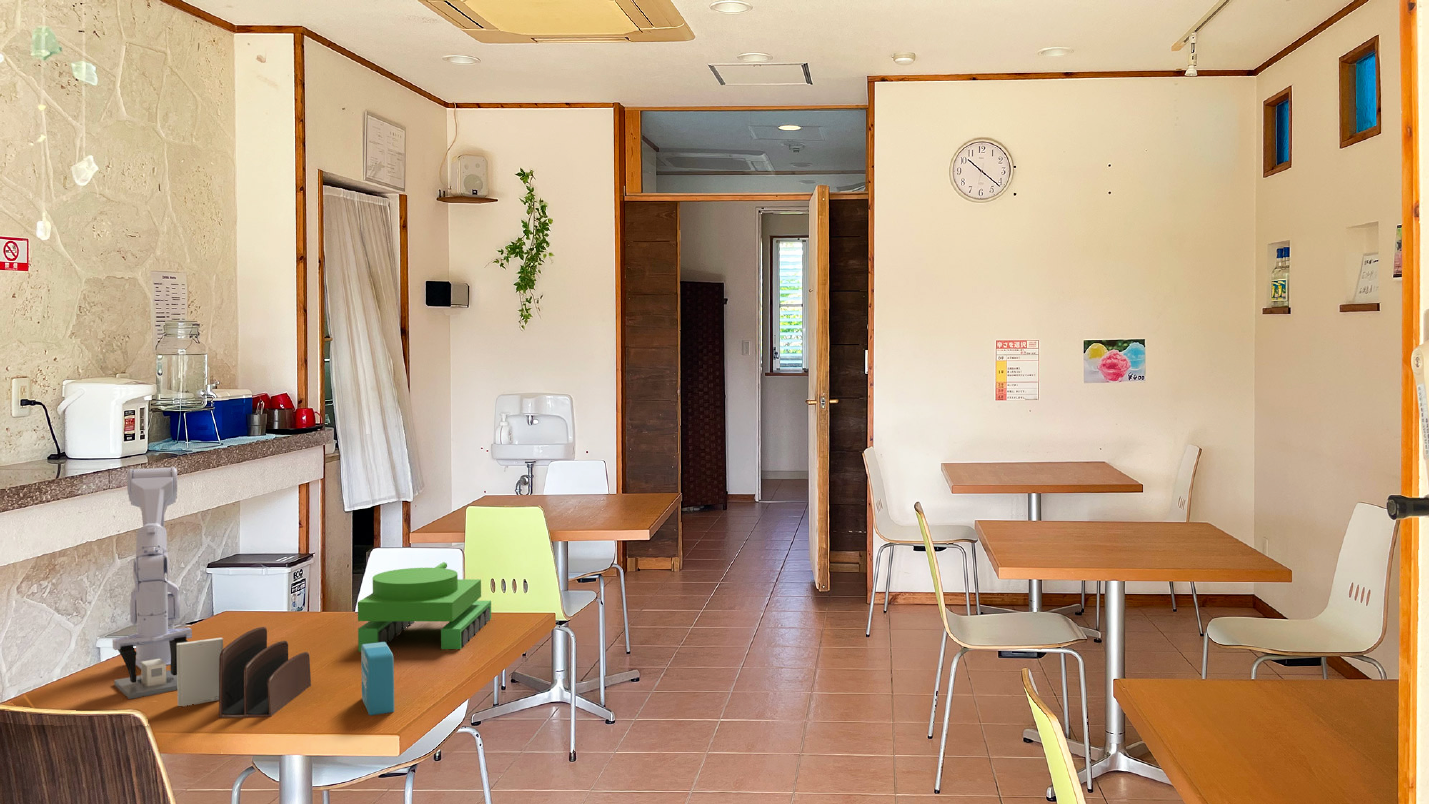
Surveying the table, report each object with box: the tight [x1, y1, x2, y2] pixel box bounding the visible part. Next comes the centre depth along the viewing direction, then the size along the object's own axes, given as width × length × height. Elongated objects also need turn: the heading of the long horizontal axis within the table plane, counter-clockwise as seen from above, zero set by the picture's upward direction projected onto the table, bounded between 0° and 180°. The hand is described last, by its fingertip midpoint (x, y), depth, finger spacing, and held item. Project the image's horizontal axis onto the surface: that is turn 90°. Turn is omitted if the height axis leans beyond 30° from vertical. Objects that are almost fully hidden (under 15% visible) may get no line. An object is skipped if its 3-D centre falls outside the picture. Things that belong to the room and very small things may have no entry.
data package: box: [360, 642, 395, 716], centre depth 204 cm, size 12×4×12 cm, turn 25°
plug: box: [140, 659, 167, 687], centre depth 222 cm, size 8×4×5 cm, turn 41°
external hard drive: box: [176, 637, 224, 707], centre depth 209 cm, size 2×8×12 cm, turn 123°
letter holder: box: [218, 626, 312, 719], centre depth 209 cm, size 10×20×14 cm, turn 0°
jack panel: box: [113, 669, 177, 700], centre depth 225 cm, size 13×24×1 cm, turn 131°
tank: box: [357, 561, 492, 652], centre depth 261 cm, size 24×35×16 cm
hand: (153, 677), depth 221 cm, fingers open, 7 cm apart
